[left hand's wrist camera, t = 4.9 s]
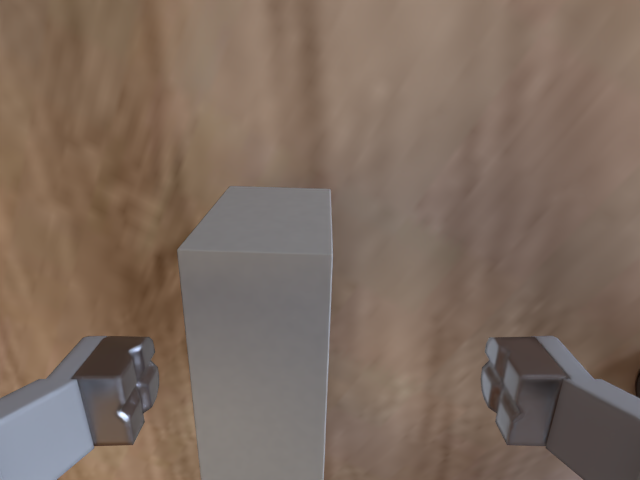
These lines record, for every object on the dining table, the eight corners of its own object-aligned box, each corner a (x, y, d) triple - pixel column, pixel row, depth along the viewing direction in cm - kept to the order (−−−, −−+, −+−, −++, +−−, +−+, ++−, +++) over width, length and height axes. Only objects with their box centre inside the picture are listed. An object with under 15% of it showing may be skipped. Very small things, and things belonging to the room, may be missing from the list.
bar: (229, 185, 24) (176, 249, 15) (330, 188, 24) (332, 254, 15) (245, 490, 32) (217, 637, 24) (319, 492, 32) (316, 640, 24)
